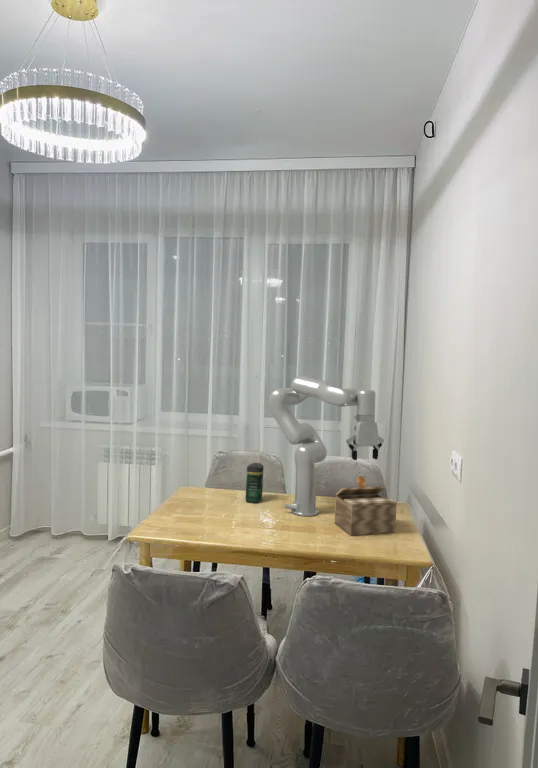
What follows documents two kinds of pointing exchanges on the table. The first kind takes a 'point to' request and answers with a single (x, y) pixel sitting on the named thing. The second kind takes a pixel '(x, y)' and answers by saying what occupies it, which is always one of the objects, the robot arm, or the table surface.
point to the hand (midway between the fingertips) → (364, 459)
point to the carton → (365, 514)
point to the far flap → (360, 489)
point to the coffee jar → (254, 482)
